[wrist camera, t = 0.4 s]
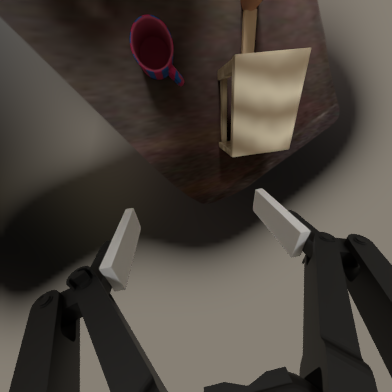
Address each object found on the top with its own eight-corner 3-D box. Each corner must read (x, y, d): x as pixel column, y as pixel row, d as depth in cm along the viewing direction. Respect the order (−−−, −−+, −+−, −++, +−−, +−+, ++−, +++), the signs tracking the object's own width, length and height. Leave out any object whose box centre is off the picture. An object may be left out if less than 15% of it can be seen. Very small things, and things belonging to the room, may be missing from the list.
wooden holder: (217, 69, 31) (235, 54, 23) (273, 64, 32) (311, 47, 24) (218, 146, 40) (232, 157, 31) (263, 140, 41) (288, 149, 32)
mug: (154, 23, 27) (149, 0, 21) (190, 77, 32) (195, 70, 26) (130, 54, 28) (120, 40, 23) (168, 101, 33) (168, 100, 27)
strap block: (234, -15, 26) (270, -85, 17) (266, -17, 26) (319, -87, 17) (231, 133, 38) (250, 141, 29) (253, 130, 39) (279, 137, 29)
